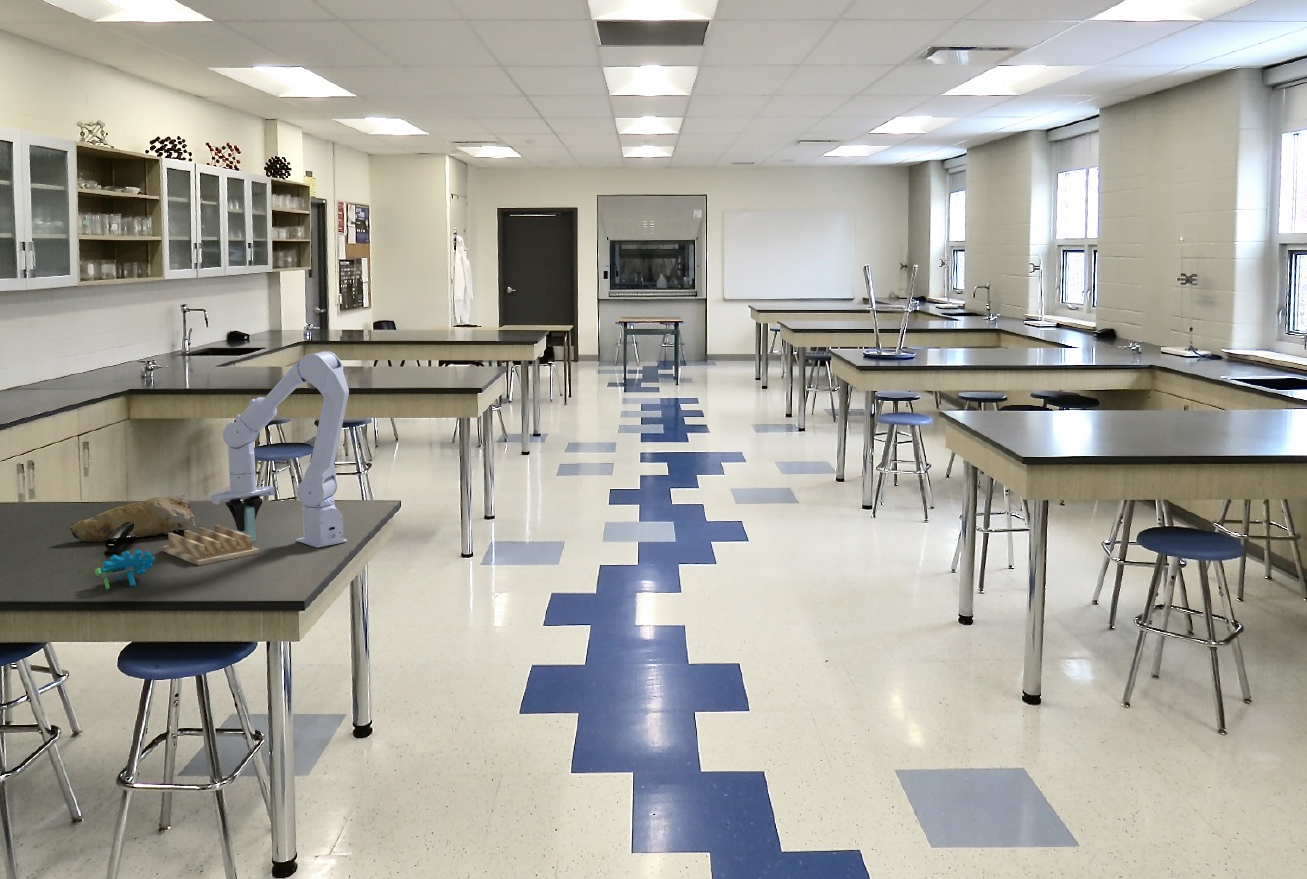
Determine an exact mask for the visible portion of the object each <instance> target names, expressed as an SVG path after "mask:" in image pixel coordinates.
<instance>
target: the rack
mask: <svg viewBox="0 0 1307 879" xmlns="http://www.w3.org/2000/svg"><path fill="white" fill-rule="evenodd" d="M198 529H199V533H197V532H194V531H192V530H189V529H185V530H183V536H181V535H179V534H177V533H174V532H173V533H168V534H167V535H168V538H167V539H168V544H167V545H164V546H161V551H162V552H165V553H166V554H169V555H172V556H174V557H176V558H179V559H182V560H184V561H187V562H188V563H191V564H194V565H196V566H204V565H209V564H214V563H218V562H224V561H230V560H234V559H239V558H243V557H244V558H245V557H249V556H253V555H258V554H260V553H261V551H260V550H261V549H260V548H258V547H255V546H253V542H252V536H250V535H247V534H244V533H241V532H238V531H236V529H232V528H229V527H226V526H223V525H220V524H214V530H212V529H209V528H206V527H203V526H202V527H201V526H200V527H199V528H198Z"/></svg>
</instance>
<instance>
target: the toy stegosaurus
mask: <svg viewBox="0 0 1307 879" xmlns="http://www.w3.org/2000/svg"><path fill="white" fill-rule="evenodd" d="M133 552H134V555H131V554H130V551H129V550H125V551H123V552H121V555H122V556H118V555H117V554H113V555H112V556H110V558H109V561H108V560H104V561H103V563H102V565H103V567H101V568H100V567H97V568H95V569H94V573H95V574H94V575H95V576H96V577H100V579H101V581H103V582H104V587H105V590H110V589H111V587H110V582H109V581H110V580H113V579H114V580H115V581H121V580H122V579H123V577H126V578H127V580H128V582H129V586H130V587H131V586H134V587H136V586H137V584H136V580H135V574H138V575H139V576H143V575H144V574H145V573H146V570H151V569H152V568H153V563H155V562H156V560H155V557H154V556H152V553H151V552H150V551H144V553H143V552H142V550H141V549H136V550H135V549H134V551H133ZM141 555H142V556H141Z"/></svg>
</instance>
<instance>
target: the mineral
mask: <svg viewBox="0 0 1307 879" xmlns="http://www.w3.org/2000/svg"><path fill="white" fill-rule="evenodd" d="M192 511H193V510H192V507H191V505H190V502H189V500H188V497H187V496H186V495H185V494H181V495H179V496H172V497H171V496H168V497H167V496H166V497H161V496H160V497H157V496H156V497H155V496H154V497H150V498H149V499H146V500H143V501H138V502H132V503H128V504H125V505H120V506H117V507H114V508H112V509H108V510H106V511H103V512H101V513H99V514H96V515H95V516H93V517H88V518H87V519H80V520H78V521H77V522H75V523H72V524H70V525H69V526H68V528H69V530H70V531H71V534H72V536H73V537H74V539H76V540H79V541H84V542H85V541H86V542H91V541H92V542H95V541H99V542H105V540H106V541H109V540H108V538H109V536H110V535H111V534H112V533H114V532H115V530H116V529H117V528H118V527H121V525H122V524H124V523H126V522H134V531H133V533H134V535H136V536H138V537H139V538H144V537H156V536H158V535H159V536H160V535H161V534H164V535H168V533H174V531H175V532H177V533H178V532H179V531H184V530H189V529H190V528H194V529H196V527H197V526H196V524H195V515H194V513H193V512H192ZM92 542H91V543H92Z"/></svg>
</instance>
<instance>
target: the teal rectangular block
mask: <svg viewBox="0 0 1307 879" xmlns="http://www.w3.org/2000/svg"><path fill="white" fill-rule="evenodd" d="M234 523H235V522H234ZM234 525H236V523H235V524H234ZM235 531H238V532H241V533H244V534H247V535H250V536H252V543H254V542H257V535H256V534H257V533H256V532H257V531H256V520H255V512H254V507H251V506H247V505H245V509H244V531H239V530H237V527H236V526H235Z"/></svg>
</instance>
